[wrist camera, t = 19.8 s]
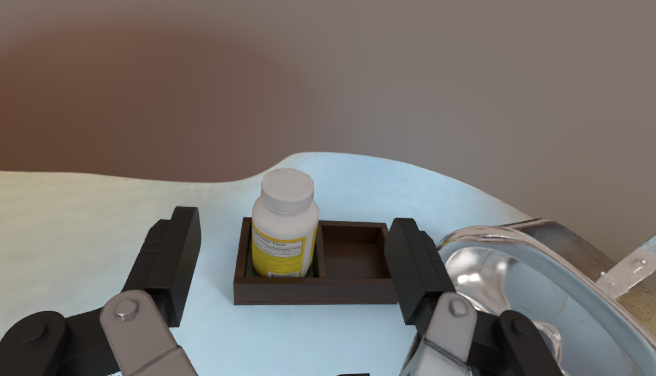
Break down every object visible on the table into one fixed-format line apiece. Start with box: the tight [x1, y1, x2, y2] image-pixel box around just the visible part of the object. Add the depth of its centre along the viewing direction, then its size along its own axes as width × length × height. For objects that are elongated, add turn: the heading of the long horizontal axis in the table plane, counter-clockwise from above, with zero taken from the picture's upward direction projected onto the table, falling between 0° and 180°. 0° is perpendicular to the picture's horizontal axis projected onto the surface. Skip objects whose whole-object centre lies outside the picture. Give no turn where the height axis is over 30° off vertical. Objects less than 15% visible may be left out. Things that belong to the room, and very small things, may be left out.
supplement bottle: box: [252, 168, 319, 278], centre depth 27 cm, size 5×5×10 cm
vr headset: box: [435, 218, 656, 376], centre depth 23 cm, size 18×11×14 cm, turn 25°
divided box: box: [233, 217, 398, 305], centre depth 30 cm, size 8×14×3 cm, turn 95°
